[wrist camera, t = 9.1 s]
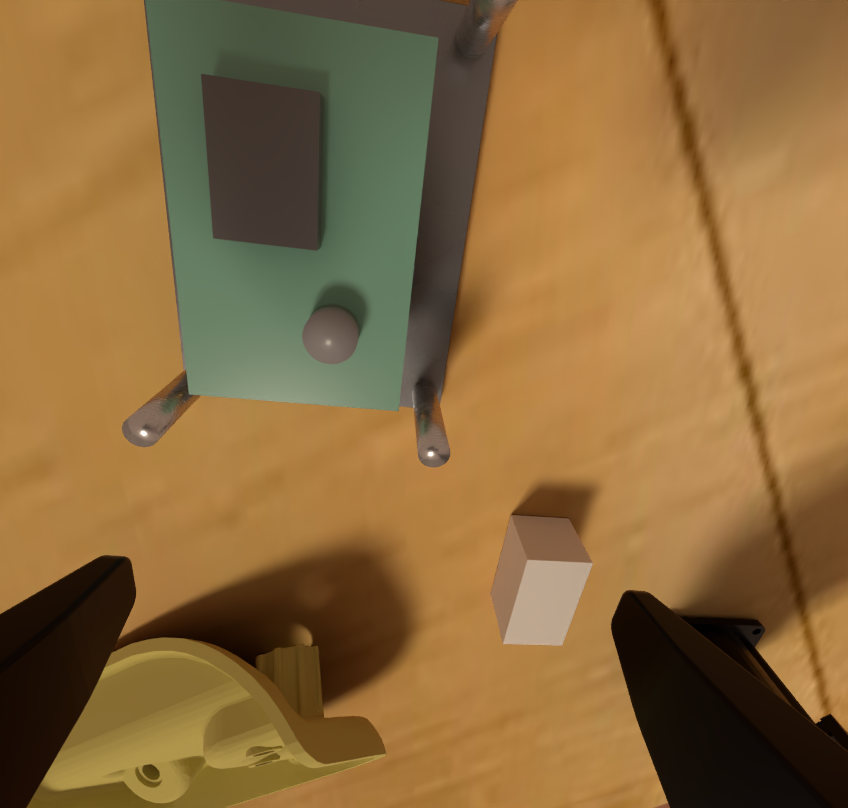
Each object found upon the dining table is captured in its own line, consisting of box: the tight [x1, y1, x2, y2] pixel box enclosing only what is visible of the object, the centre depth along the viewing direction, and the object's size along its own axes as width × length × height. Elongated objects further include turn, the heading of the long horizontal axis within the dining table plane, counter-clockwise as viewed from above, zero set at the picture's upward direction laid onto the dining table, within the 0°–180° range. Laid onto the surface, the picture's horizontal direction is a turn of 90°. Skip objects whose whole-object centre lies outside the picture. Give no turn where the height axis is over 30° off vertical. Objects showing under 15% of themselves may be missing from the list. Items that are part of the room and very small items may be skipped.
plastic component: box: [27, 638, 386, 808], centre depth 25 cm, size 20×7×10 cm
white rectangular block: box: [491, 515, 593, 645], centre depth 22 cm, size 3×5×3 cm, turn 173°
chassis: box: [122, 0, 518, 467], centre depth 13 cm, size 10×13×6 cm
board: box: [145, 0, 438, 411], centre depth 12 cm, size 6×9×3 cm, turn 173°
